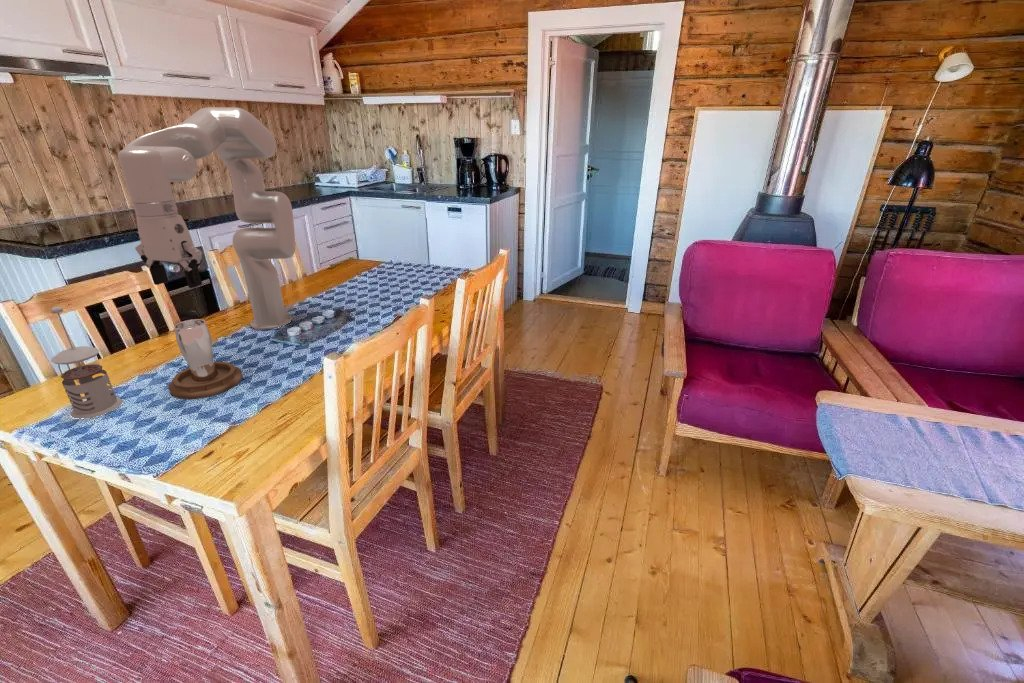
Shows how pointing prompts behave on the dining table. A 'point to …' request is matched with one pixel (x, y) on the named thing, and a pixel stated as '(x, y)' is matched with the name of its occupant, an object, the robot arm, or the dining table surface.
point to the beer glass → (197, 350)
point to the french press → (85, 381)
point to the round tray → (206, 393)
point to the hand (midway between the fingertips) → (178, 284)
